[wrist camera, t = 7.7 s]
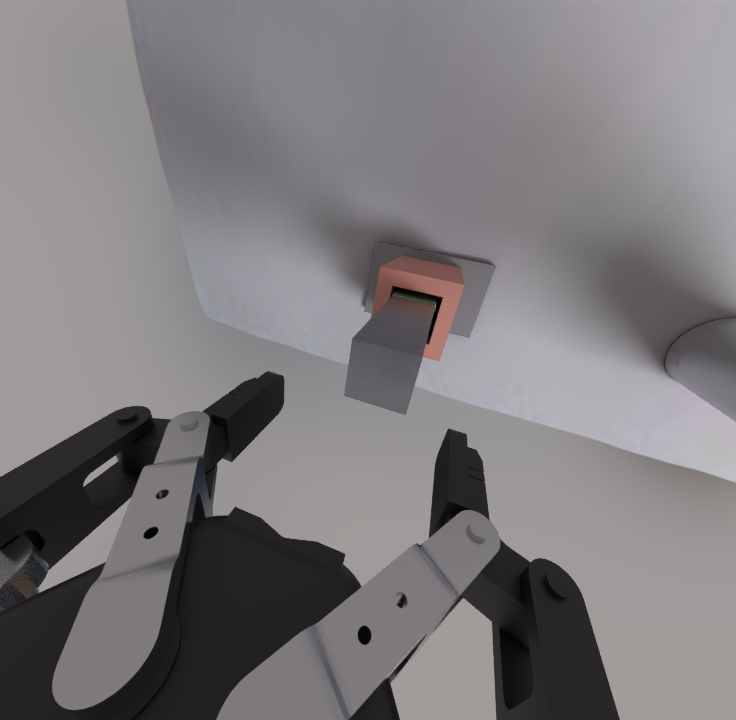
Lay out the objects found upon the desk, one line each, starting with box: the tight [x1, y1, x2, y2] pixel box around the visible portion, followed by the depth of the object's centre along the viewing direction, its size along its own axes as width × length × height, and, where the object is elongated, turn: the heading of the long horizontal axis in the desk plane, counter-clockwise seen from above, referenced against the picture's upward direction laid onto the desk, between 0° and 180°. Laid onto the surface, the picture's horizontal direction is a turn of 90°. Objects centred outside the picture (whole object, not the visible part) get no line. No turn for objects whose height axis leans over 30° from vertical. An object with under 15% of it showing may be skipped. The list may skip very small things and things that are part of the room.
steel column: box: [344, 288, 438, 415], centre depth 24 cm, size 4×4×18 cm
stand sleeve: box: [364, 242, 496, 361], centre depth 32 cm, size 16×10×15 cm, turn 80°
